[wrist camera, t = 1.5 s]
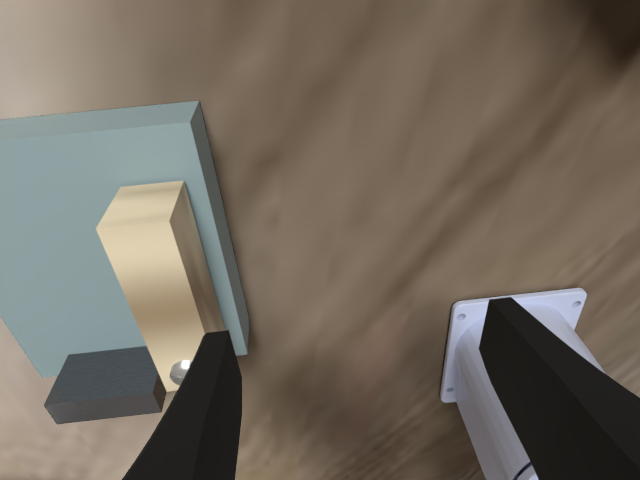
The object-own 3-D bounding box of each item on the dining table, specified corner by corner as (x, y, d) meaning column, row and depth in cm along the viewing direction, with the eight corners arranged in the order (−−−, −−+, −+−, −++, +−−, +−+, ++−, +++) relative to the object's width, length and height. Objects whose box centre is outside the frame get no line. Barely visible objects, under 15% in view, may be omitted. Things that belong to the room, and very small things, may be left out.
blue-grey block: (249, 321, 26) (244, 402, 22) (59, 342, 26) (14, 429, 21) (199, 100, 19) (175, 155, 14) (-69, 126, 18) (-180, 191, 14)
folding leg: (227, 336, 23) (220, 390, 20) (178, 341, 23) (165, 397, 20) (183, 180, 18) (167, 225, 15) (120, 186, 18) (92, 233, 15)
